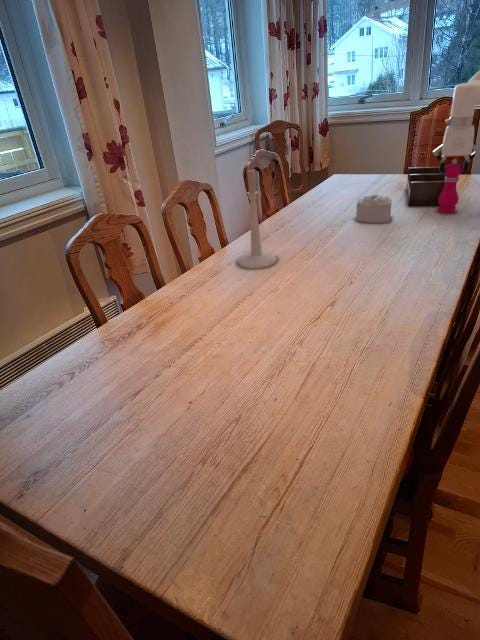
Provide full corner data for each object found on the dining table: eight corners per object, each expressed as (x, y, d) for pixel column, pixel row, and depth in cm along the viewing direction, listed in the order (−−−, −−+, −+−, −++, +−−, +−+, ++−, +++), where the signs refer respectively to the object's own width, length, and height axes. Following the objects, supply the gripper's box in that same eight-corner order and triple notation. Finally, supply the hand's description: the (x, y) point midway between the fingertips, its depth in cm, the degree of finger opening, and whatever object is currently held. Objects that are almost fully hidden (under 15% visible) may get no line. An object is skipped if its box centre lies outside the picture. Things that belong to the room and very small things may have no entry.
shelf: (442, 188, 200) (446, 166, 195) (449, 206, 177) (453, 181, 172) (406, 189, 204) (408, 167, 199) (408, 206, 181) (411, 182, 176)
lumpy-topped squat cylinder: (389, 223, 165) (391, 200, 161) (355, 222, 169) (356, 200, 165) (389, 214, 174) (391, 193, 170) (356, 214, 178) (357, 193, 173)
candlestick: (271, 251, 151) (266, 162, 135) (280, 265, 140) (276, 170, 124) (235, 256, 149) (226, 167, 134) (241, 271, 138) (233, 175, 123)
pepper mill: (434, 213, 171) (442, 160, 161) (439, 208, 176) (446, 156, 166) (454, 214, 167) (463, 161, 157) (458, 209, 172) (467, 157, 162)
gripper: (435, 124, 155) (428, 175, 164) (489, 121, 150) (479, 174, 159) (433, 122, 161) (427, 171, 170) (485, 119, 156) (476, 170, 165)
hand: (452, 172), depth 164 cm, fingers open, 6 cm apart
